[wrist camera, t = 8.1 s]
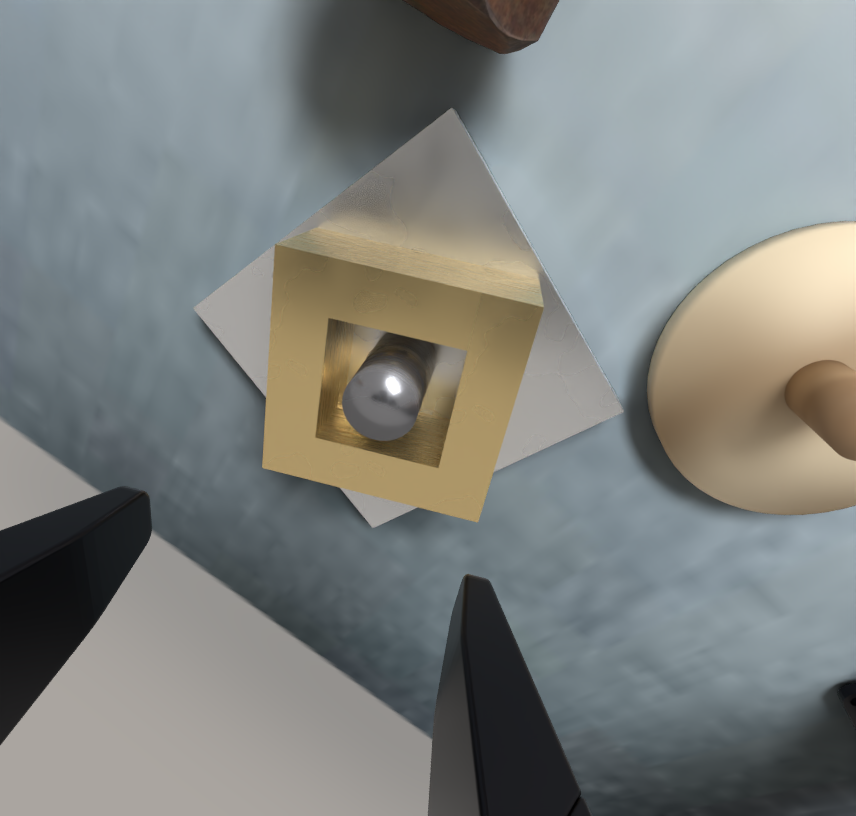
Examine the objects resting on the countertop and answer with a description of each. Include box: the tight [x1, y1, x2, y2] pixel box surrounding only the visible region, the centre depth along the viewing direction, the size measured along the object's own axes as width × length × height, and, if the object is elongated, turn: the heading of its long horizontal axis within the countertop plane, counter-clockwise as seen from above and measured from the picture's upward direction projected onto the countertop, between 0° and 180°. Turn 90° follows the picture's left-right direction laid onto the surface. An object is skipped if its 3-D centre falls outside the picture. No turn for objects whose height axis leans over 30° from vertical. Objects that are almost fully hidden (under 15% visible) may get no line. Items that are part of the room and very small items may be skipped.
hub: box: [193, 108, 624, 528], centre depth 16 cm, size 10×10×4 cm
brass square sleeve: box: [262, 228, 544, 522], centre depth 15 cm, size 7×7×3 cm
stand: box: [647, 221, 856, 515], centre depth 15 cm, size 9×9×4 cm
